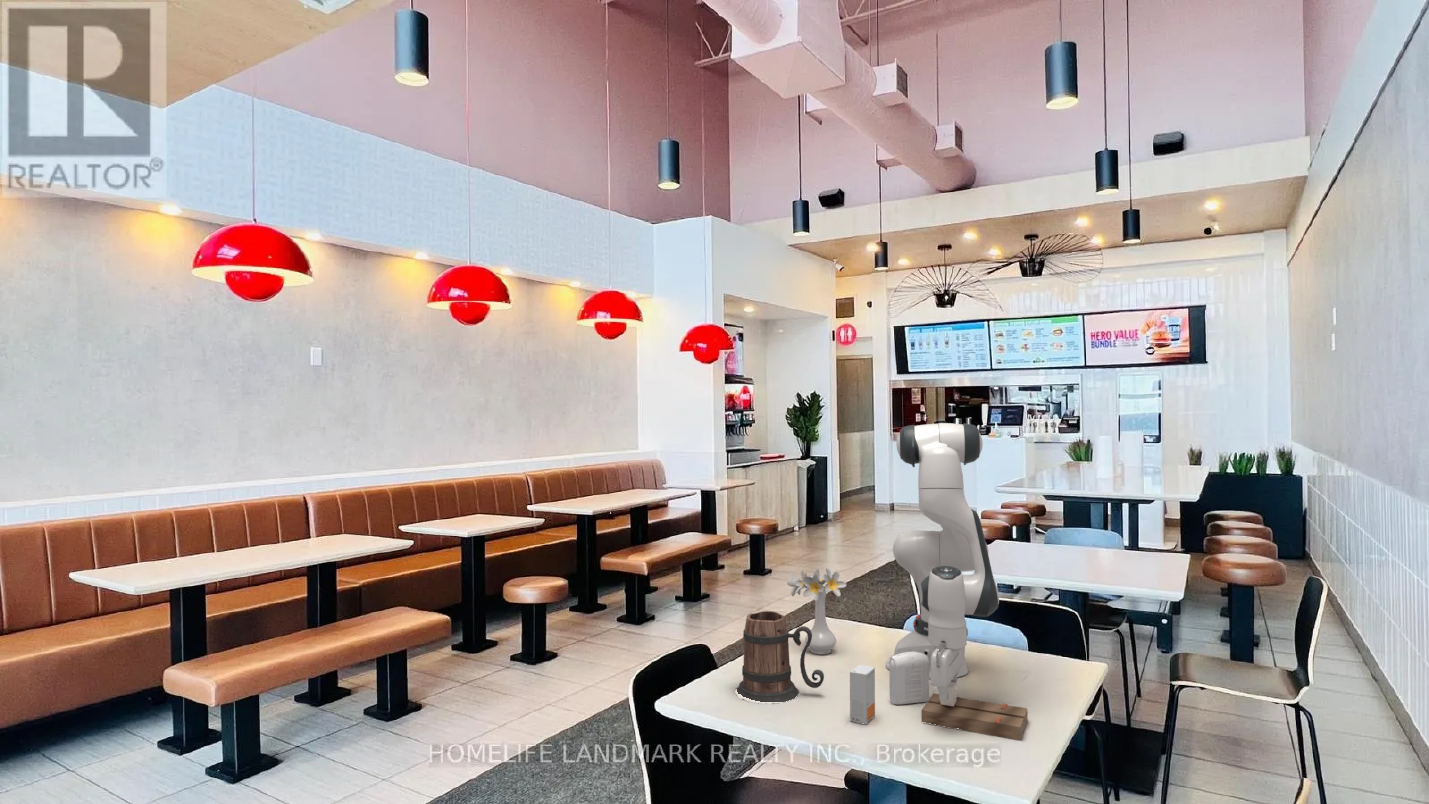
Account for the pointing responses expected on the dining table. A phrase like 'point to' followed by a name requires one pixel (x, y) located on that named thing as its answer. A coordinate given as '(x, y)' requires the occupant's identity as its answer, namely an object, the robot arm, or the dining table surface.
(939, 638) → the robot arm
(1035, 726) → the dining table surface
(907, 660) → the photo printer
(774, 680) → the tankard
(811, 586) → the flower vase
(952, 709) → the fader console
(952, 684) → the fader knob
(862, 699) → the skincare box
